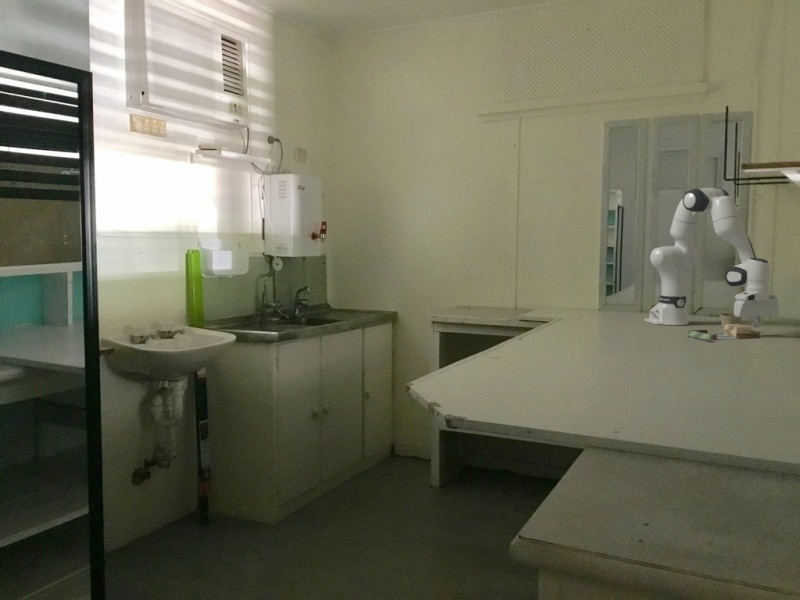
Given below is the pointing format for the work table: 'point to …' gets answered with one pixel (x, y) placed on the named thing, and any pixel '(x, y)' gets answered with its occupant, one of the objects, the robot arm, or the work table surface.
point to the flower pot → (729, 320)
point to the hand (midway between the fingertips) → (755, 327)
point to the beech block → (736, 329)
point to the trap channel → (719, 335)
